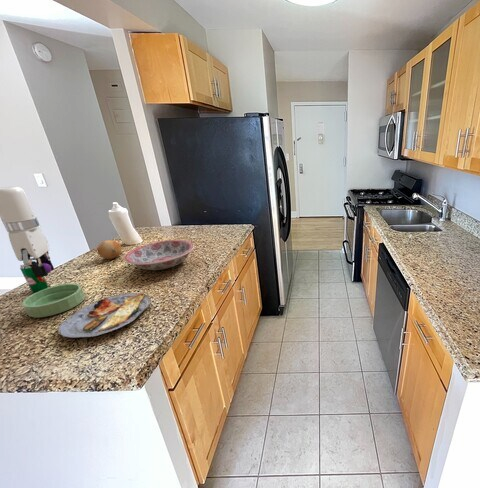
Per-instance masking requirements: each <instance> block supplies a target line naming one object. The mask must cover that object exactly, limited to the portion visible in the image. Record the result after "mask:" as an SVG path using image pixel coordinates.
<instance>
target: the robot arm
mask: <svg viewBox="0 0 480 488" xmlns="http://www.w3.org/2000/svg"><path fill="white" fill-rule="evenodd" d="M0 220H1V222H2V224H3V226H4V229H5V230H6V232H7V235H8V239H9V242H10V245H11V248H12V250H13V253H14V255H15V257H16V259H17V261H19V262H22V264H25V265H28V266H29V267H30V268H31V269H32V271H33V273H34V275H35V277H43V276H44V277H47V276H49V273H47V271H46V269H45V267H44V265H42V263H46V264H49V265H50V266H51V271H50V272H52V271H54V270H55V267H54V265H53V263H52V261H51V257H50V255H49V254H50V253H49V251H50V245H49V242H48V240H47V238H46V237H45V234H44V232H43V231H42V229H41V228H40V227H41V225H40V222H39V220H38V218H37V216H36V213H35V212H34V209H33V207H32V205H31V203H30V200H29V197H28V196H27V194H26V191H25V190H24V189H23V188H22V187H20V186H4V187H3V186H2V187H0Z"/></svg>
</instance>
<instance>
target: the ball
mask: <svg viewBox="0 0 480 488" xmlns="http://www.w3.org/2000/svg"><path fill="white" fill-rule="evenodd" d="M42 265H44V267H45V269H46V271H47V273H48V274H49V273H51V272H52V271H51V266H50V265H49V264H46V263H42Z"/></svg>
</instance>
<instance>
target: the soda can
mask: <svg viewBox="0 0 480 488" xmlns="http://www.w3.org/2000/svg"><path fill="white" fill-rule="evenodd" d="M19 266H20V267H19V269H20V271H21V273H22V275H23V277H24V280H25V282H26V283H27V285H28V287H29V290H30V292H33V293H36V292H39V291H41V290H44V289H47V288H49V284H48V281H47V279H46V276H43V277H35V275H34V273H33V271H32V269H31V268H30V267H29V266H28V265H25V264H23V263H21V264H20V265H19Z"/></svg>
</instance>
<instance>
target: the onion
mask: <svg viewBox="0 0 480 488" xmlns="http://www.w3.org/2000/svg"><path fill="white" fill-rule="evenodd" d="M122 251H123V250H122V245H121V244H120V243H119V242H118V241H116V240H113V239H107V240H103V241H101V242H100V243H99V244H98V245H97V254H98V255H99V256H100V258H102V259H104V260H112V259H115V258H118V257H119V256H120V255H121V254H122Z"/></svg>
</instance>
